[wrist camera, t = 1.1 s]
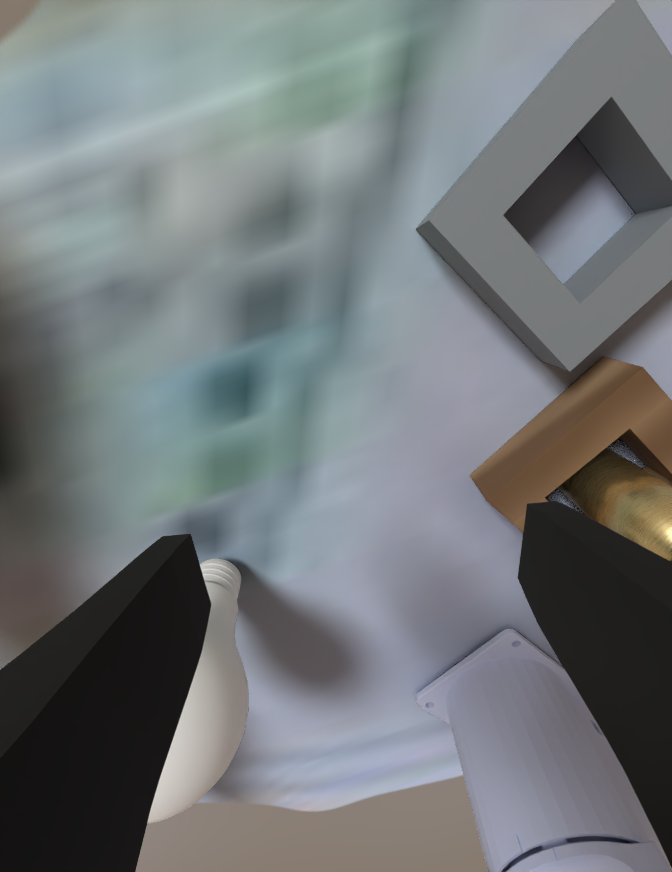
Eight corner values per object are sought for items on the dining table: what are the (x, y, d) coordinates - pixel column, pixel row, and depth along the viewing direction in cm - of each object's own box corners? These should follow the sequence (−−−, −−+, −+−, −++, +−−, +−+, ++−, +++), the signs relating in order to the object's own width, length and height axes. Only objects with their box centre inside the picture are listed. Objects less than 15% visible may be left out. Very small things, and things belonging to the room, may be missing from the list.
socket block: (701, 209, 16) (763, 196, 14) (539, 360, 18) (569, 371, 16) (579, 37, 14) (627, -12, 12) (415, 229, 16) (428, 220, 14)
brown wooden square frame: (698, 463, 20) (746, 487, 18) (566, 561, 22) (593, 594, 20) (603, 356, 18) (642, 367, 16) (469, 475, 20) (486, 500, 18)
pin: (645, 465, 20) (861, 594, 12) (573, 522, 21) (723, 674, 13) (593, 410, 19) (790, 508, 11) (520, 472, 20) (646, 603, 12)
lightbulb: (288, 537, 22) (245, 769, 11) (262, 620, 24) (206, 879, 13) (176, 508, 21) (21, 727, 11) (159, 596, 23) (17, 849, 13)
